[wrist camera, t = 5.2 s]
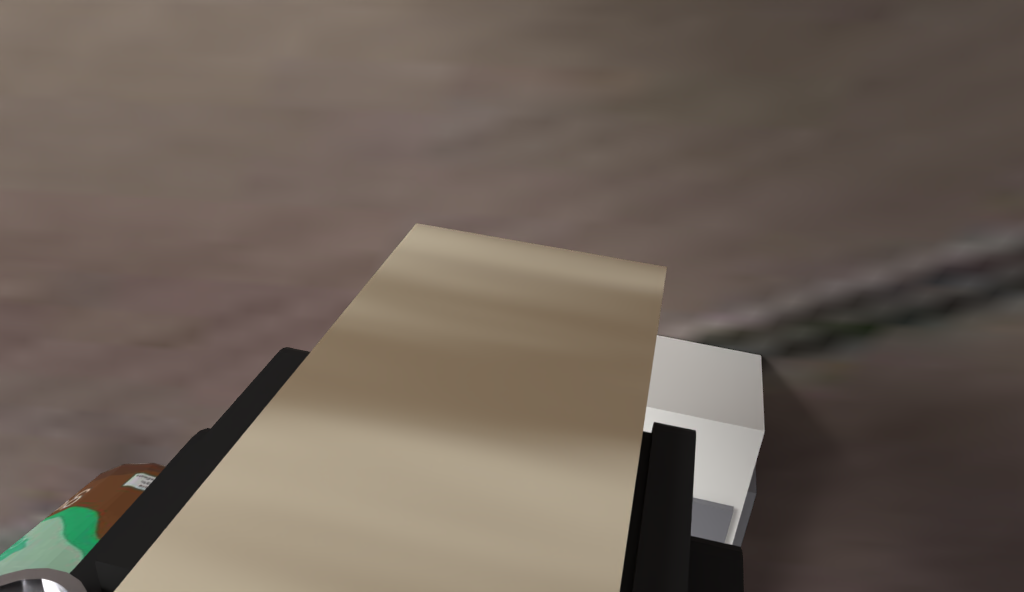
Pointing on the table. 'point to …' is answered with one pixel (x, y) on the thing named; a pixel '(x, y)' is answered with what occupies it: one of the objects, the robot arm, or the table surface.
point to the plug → (440, 435)
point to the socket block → (712, 427)
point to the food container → (80, 521)
